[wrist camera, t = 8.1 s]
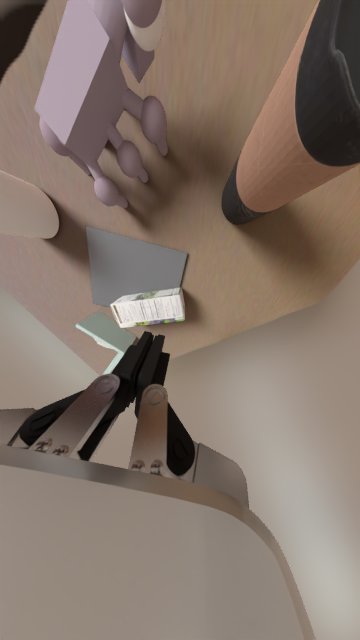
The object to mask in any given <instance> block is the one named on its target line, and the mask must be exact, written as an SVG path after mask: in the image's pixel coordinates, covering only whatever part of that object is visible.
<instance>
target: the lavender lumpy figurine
mask: <svg viewBox="0 0 360 640" xmlns="http://www.w3.org/2000/svg"><path fill="white" fill-rule="evenodd" d="M164 23H165V0H68V2H67V5H66V8H65V12H64V15H63V18H62V21H61V25H60V28H59V31H58V34H57V38H56V41H55V44H54V47H53V50H52V54H51V57H50V60H49V63H48V67H47V70H46V73H45V76H44V79H43V83H42V86H41V89H40V92H39V96H38V99H37V102H36V105H35V108H34V109H35V110H36V111H37V113H38V114H39V115H40V116H41V118H40V129H41V132H42V135H43V137H44V139H45V140H46V142H47V143H48V145H49V146H50V147H51V148H52V149H53V150H54V151H55V152H56V153H58V154H60V155H62V156H69V157H70V158H71V159H72V160H73V161H74V162H75V163H76V164H77V165H78V166H79V167H80V168H81V169H82V170H83V171H84V172H85V173H86V174H88V175H90V174H92V175H93V177H94V179H95V183H94V189H95V193H96V195H97V197H98V198H99V200H100V201H101V202H102V203H103V204H105V205H107V206H114V205H118V206H121V207H123V208H127V206H128V202H127V200H126V199H125V198H123V197H122V196H120V195H119V193H118V189H117V187H116V185H115V184H114V183H113V181H112V180H111V179H109V178H108V177H105V176H104V174H103V172H102V170H101V168H100V166H99V164H98V162H97V160H98V158H99V156H100V154H101V152H102V150H103V148H104V147H105V145H106V143H107V141H108V139H109V140H110V142H111V143H112V144H113V146H114V147H115V149H116V150H117V160H118V164H119V166H120V168H121V170H122V171H123V173H124V174H125V175H126V176H128V177H130V178H135V177H137V176H138V178H139V179H140V180H141V181H142V182H143V183H146V182H147V181H148V174H147V172H146V171H145V170H144V168H143V167H142V160H141V156H140V153H139V151H138V149H137V147H136V146H135V145H134V144H133V143H132V142H130V141H127V140H124V139H123V138H122V136H121V134H120V133H119V131H118V130H117V128H116V127H115V126H116V124H117V122H118V120H119V118H120V116H121V114H122V112H123V110H124V109H126V110H127V111H128V112H129V113H131V114H132V115H133V116H135V117H136V118H137V119H139V120H140V122H141V127H142V130H143V133H144V135H145V137H146V138H147V139H148V140H149V141H150V142H151V143H153V144H157V146H158V149H159V151H160V153H161V155H163V156H165V155H166V154H167V152H168V146H167V142H166V139H165V133H166V125H167V123H166V114H165V111H164V108H163V106H162V104H161V102H160V101H159V100H158V99H157V98H156V97H154V96H148V97H146V98H145V99H144V100H142V99H141V98H140V97H139V96H138V95H137V94H135V93H134V92H133V91H132V90H131V89H129V88H128V87H127V84H126V81H125V78H124V76H123V73H122V70H121V68H120V60H121V55H122V56H123V58H124V59H125V61H126V63H127V64H128V66H129V68H130V69H131V71H132V73H133V74H134V76H135V78H136V79H137V81H138V83H140V81H141V80H142V78H143V76H144V74H145V73H146V71H147V69H148V68H149V66H150V64H151V63H152V61H153V59H154V49H155V48H156V47H157V45H158V44H159V42H160V40H161V37H162V34H163V29H164Z"/></svg>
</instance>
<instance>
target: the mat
mask: <svg viewBox="0 0 360 640" xmlns="http://www.w3.org/2000/svg"><path fill="white" fill-rule="evenodd" d="M86 234H87V245H88V255H89V266H90V276H91V287H92V297H93V303H94V304H98V305H103V306H107V307H111V306H110V305H111V304H112V303H114V302H115V301H116V300H117V299H119V298H121V297H122V296H126V295H132V294H139V293H145V292H151V291H158V290H165V289H172V288H178V287H180V283H181V279H182V275H183V270H184V266H185V262H186V257H187V253H185V252H181V251H177V250H174V249H170V248H166V247H162V246H159V245H155V244H151V243H147V242H144V241H140V240H136V239H132V238H129V237H125V236H121V235H117V234H113V233H110V232H106V231H102V230H98V229H95V228H91V227H87V226H86Z"/></svg>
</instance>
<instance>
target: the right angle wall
mask: <svg viewBox="0 0 360 640" xmlns="http://www.w3.org/2000/svg"><path fill="white" fill-rule="evenodd" d="M75 327H77V328H79V329H80V330H82V331H84V332H85V333H87V334H89V335H90V336H92V337H94V340H96V341H97V344H100V345H101V346H104V347H105V348H106V347H107V348H109V349H111V348H112V349H114V350H115V351H117V352H119V353H118V354H117V355H116V357H115V358H114V359H113V361H112V362H111V363H110V365H109V366H108V368H107V369H106V370H105V372H104V373H103V375H104V374H109V373H110V372H111V370H112V369H113V368H114V367H115V366H116V365H117V363H118V362H119V361H120V359H121V358H122V356H123V355H124V353H125V352H126V350H127V349H128V347H129V346H130V345H132V343H133V342H134V340H135V339H136V336H135V335H133V334H132V333H130V332H129V331H127V330H126V329H124V328H120V326H119V325H118V324H117V323H115V322H114V321H112V320H111V319H109V318H108V317H106V316H105V315H103V314H102V313H100V312H99V311H97V312H95V313H93V314H92V315H90V316H89V317H87V318H85V319H84V320H82V321H81V322H79V323H77V324H76V326H75Z"/></svg>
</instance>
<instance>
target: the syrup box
mask: <svg viewBox="0 0 360 640" xmlns="http://www.w3.org/2000/svg"><path fill="white" fill-rule="evenodd" d="M110 306H111V309H112V312H113V314H114V317H115V319H116V321H117V323H118V325H119V326H120V328H125V327H134V326H143V325H152V324H160V323H169V322H178V321H184V320H185V303H184V297H183V292H182V288H181V287H178V288H172V289H165V290H158V291H151V292H145V293H139V294H132V295H126V296H122V297H121V298H119V299H117V300H116V301H115V302H114V303H112V304H111V305H110Z"/></svg>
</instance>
